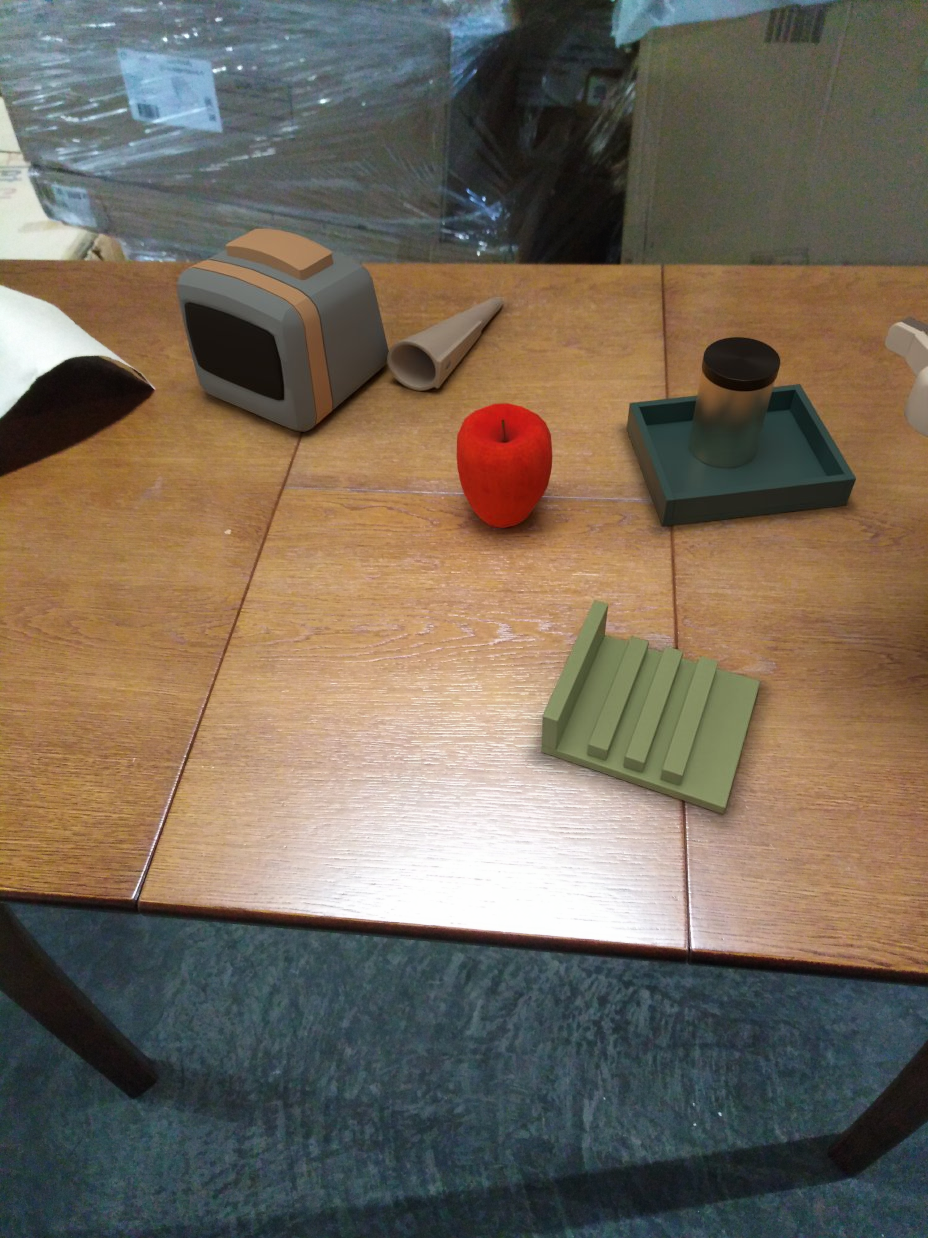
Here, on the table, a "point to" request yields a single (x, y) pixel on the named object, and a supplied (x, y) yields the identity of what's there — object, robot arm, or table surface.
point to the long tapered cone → (439, 347)
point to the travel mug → (732, 401)
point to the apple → (504, 462)
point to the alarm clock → (282, 326)
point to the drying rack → (649, 715)
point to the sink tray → (770, 483)
